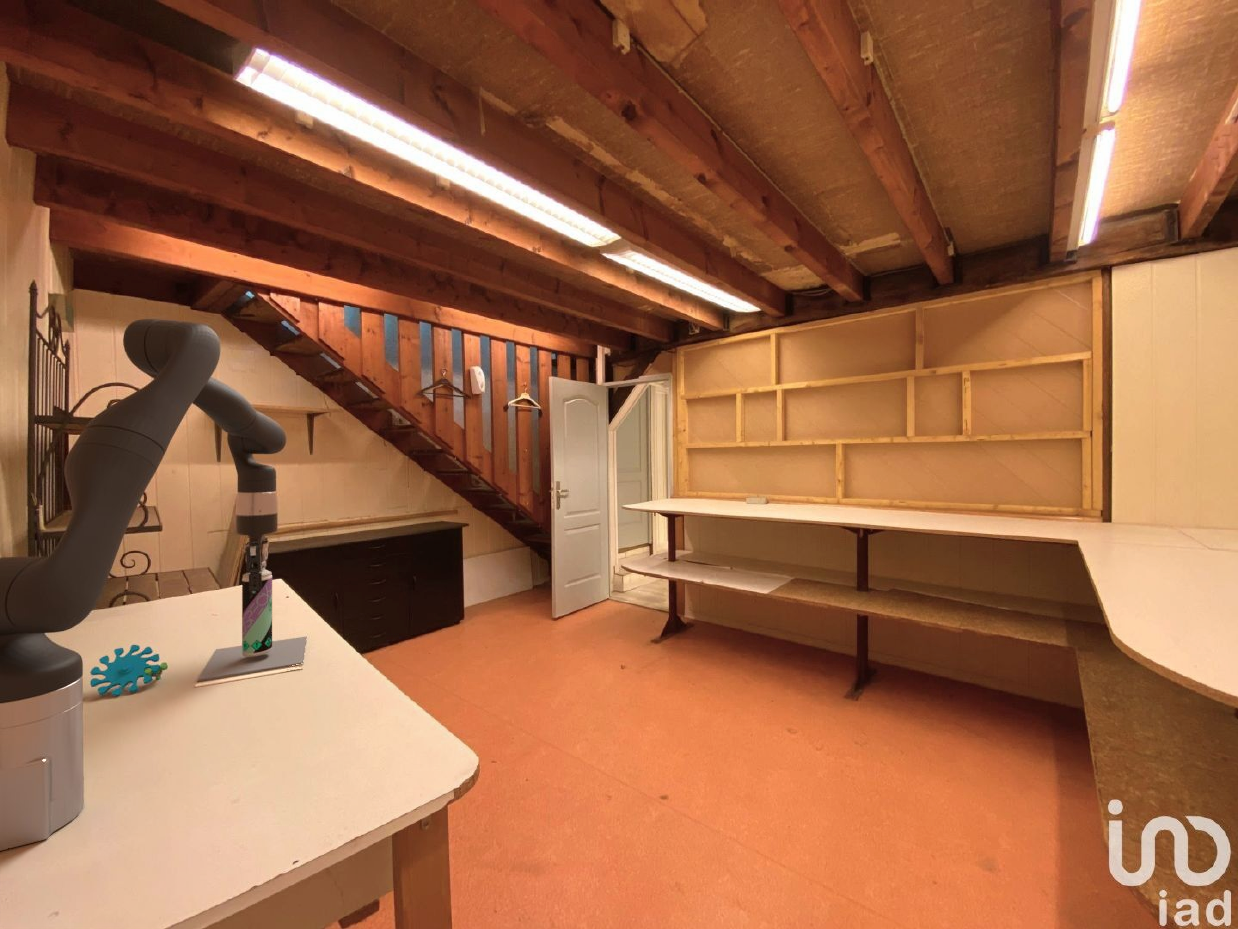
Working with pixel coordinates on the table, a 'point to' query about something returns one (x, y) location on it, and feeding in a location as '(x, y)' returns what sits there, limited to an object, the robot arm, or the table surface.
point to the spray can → (257, 616)
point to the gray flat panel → (252, 662)
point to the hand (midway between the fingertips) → (257, 587)
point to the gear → (127, 670)
